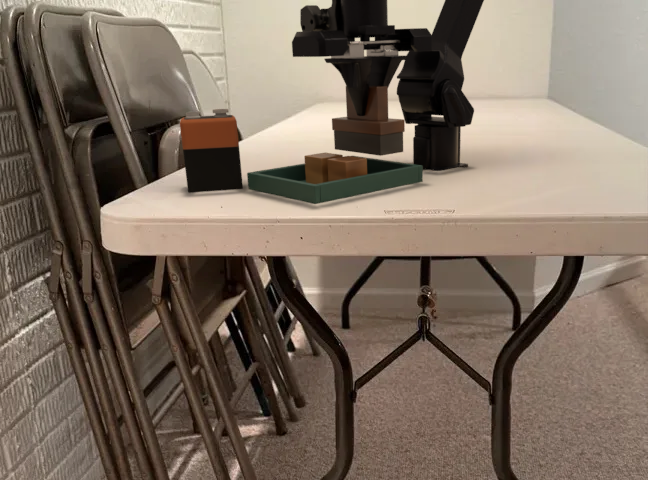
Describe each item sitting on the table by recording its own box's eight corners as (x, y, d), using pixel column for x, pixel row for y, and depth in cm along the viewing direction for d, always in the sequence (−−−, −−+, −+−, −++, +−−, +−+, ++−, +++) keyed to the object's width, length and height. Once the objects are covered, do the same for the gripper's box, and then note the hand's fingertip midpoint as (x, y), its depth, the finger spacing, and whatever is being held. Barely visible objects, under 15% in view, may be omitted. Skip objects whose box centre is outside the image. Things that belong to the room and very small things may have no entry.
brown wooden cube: (326, 179, 95) (325, 152, 94) (343, 182, 93) (342, 154, 91) (305, 183, 93) (304, 155, 92) (322, 186, 90) (321, 158, 89)
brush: (356, 145, 98) (354, 84, 95) (405, 151, 92) (404, 86, 89) (333, 149, 96) (329, 86, 93) (381, 156, 89) (379, 88, 86)
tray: (353, 173, 102) (352, 155, 101) (422, 185, 92) (422, 165, 91) (248, 192, 91) (246, 172, 90) (315, 208, 81) (314, 185, 80)
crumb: (349, 183, 92) (348, 155, 91) (367, 186, 89) (367, 158, 88) (328, 187, 90) (327, 159, 88) (346, 191, 87) (345, 161, 86)
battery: (243, 192, 91) (235, 110, 87) (188, 196, 89) (178, 112, 86) (241, 186, 95) (234, 107, 91) (188, 189, 93) (179, 109, 90)
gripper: (375, -14, 97) (378, 106, 103) (260, -17, 86) (271, 118, 92) (435, -20, 90) (434, 109, 96) (317, -25, 78) (325, 123, 84)
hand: (367, 114), depth 92 cm, fingers closed on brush, 2 cm apart
